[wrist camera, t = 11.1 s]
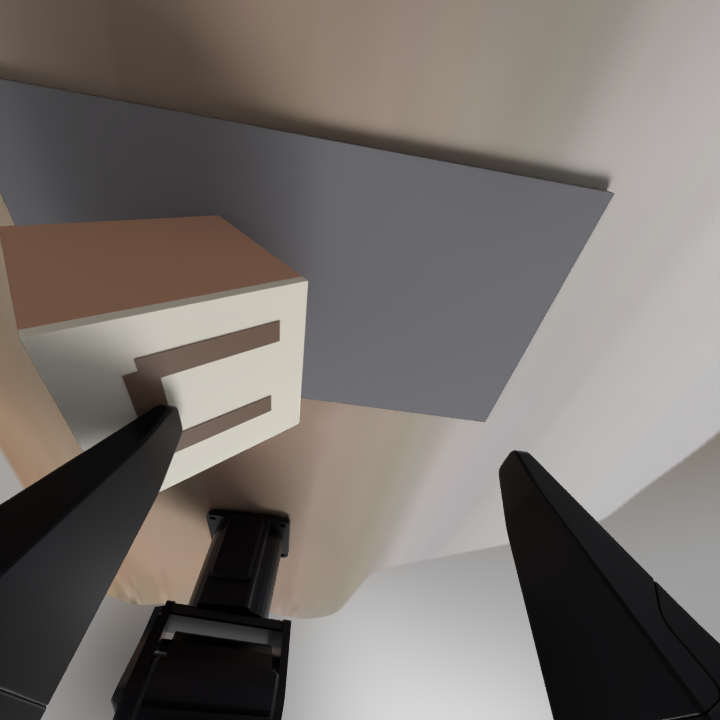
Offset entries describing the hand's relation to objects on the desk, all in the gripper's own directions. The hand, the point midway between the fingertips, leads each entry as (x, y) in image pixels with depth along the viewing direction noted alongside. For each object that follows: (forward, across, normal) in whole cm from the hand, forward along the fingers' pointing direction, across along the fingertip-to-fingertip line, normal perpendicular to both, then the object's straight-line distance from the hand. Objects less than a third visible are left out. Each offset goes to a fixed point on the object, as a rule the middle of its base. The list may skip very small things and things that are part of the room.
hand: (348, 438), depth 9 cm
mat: (+8, +3, 0) cm, 8 cm away
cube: (+1, +4, 0) cm, 4 cm away
